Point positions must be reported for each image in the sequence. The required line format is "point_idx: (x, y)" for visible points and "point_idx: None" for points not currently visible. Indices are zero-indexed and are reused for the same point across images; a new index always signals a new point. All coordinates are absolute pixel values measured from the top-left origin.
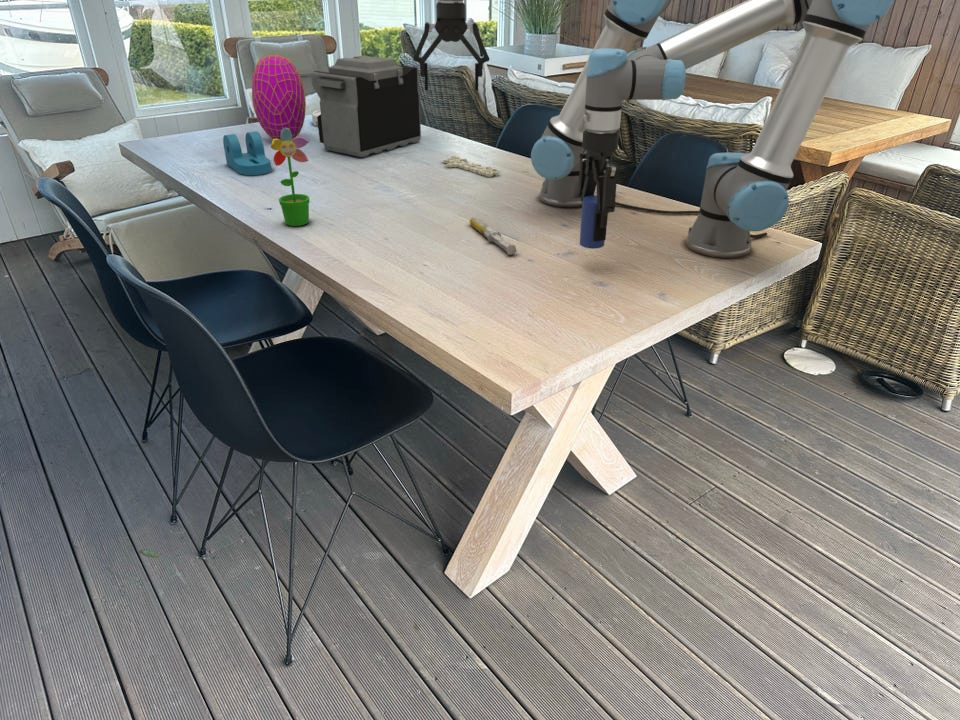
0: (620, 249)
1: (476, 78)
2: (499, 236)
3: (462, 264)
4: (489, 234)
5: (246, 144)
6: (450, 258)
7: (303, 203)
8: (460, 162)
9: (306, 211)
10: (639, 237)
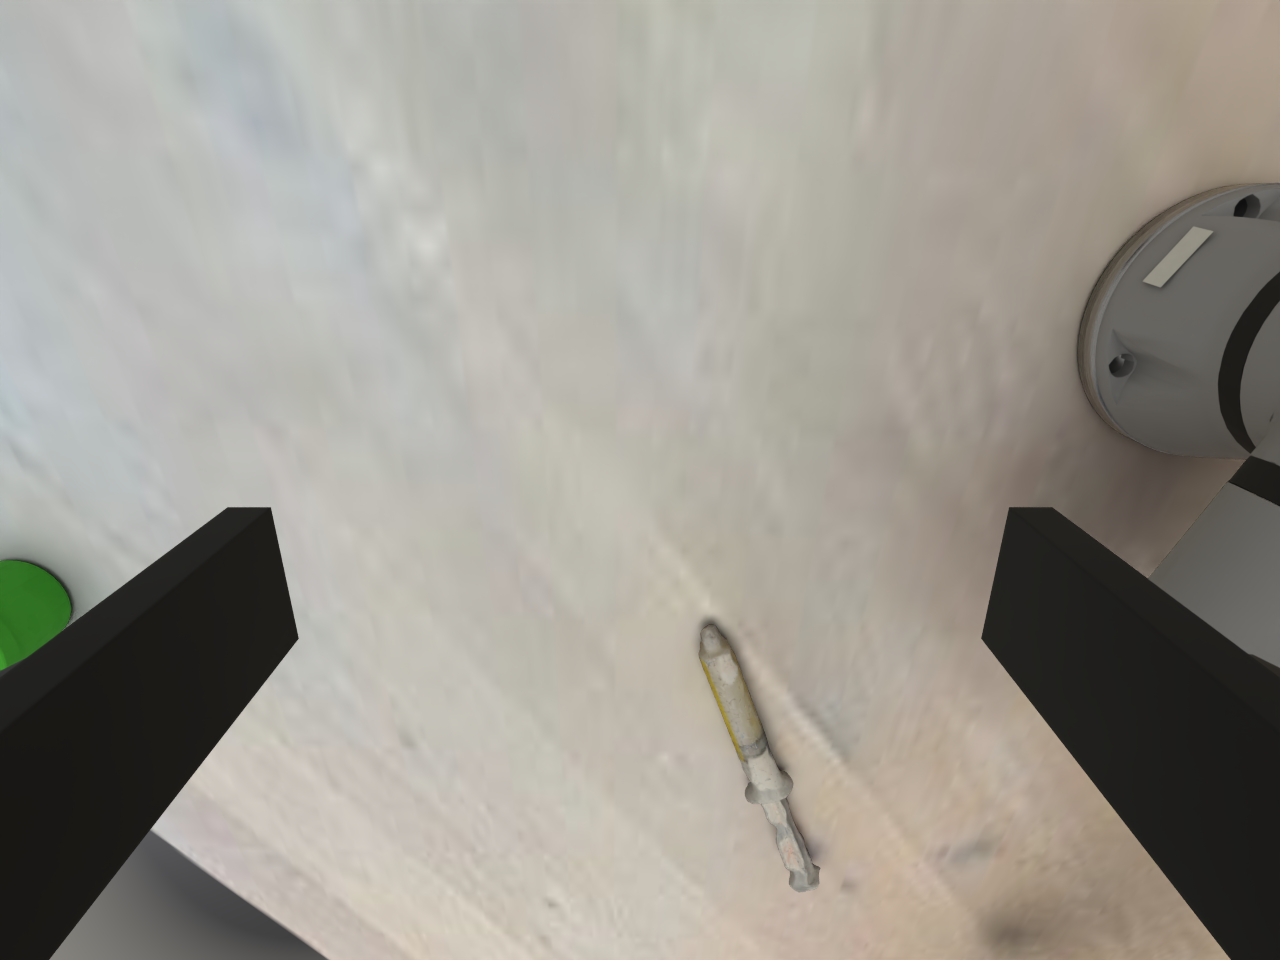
0: None
1: (1091, 756)
2: (784, 815)
3: (654, 901)
4: (753, 802)
5: None
6: (621, 869)
7: None
8: None
9: (38, 646)
10: None
